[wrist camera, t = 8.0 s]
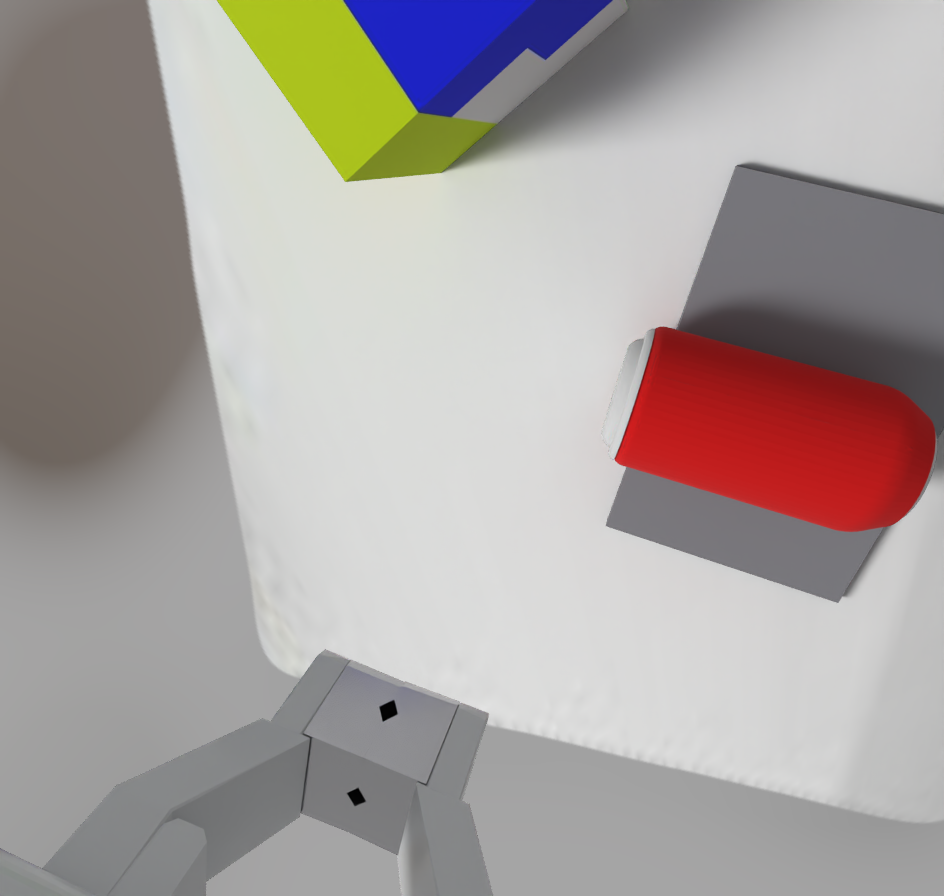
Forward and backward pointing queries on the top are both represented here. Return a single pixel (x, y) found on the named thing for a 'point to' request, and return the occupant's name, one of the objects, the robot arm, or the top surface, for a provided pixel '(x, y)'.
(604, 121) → the top surface
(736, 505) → the mat
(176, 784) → the robot arm
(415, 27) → the puzzle toy
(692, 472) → the beverage can
